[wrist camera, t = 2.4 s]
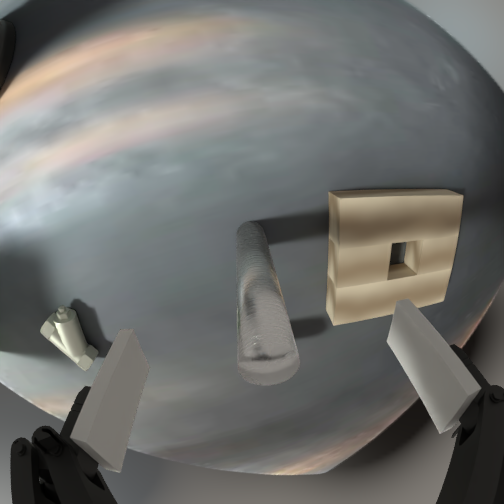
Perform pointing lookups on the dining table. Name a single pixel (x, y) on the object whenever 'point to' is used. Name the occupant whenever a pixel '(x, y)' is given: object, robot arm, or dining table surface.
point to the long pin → (261, 313)
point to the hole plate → (389, 249)
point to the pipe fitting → (69, 337)
